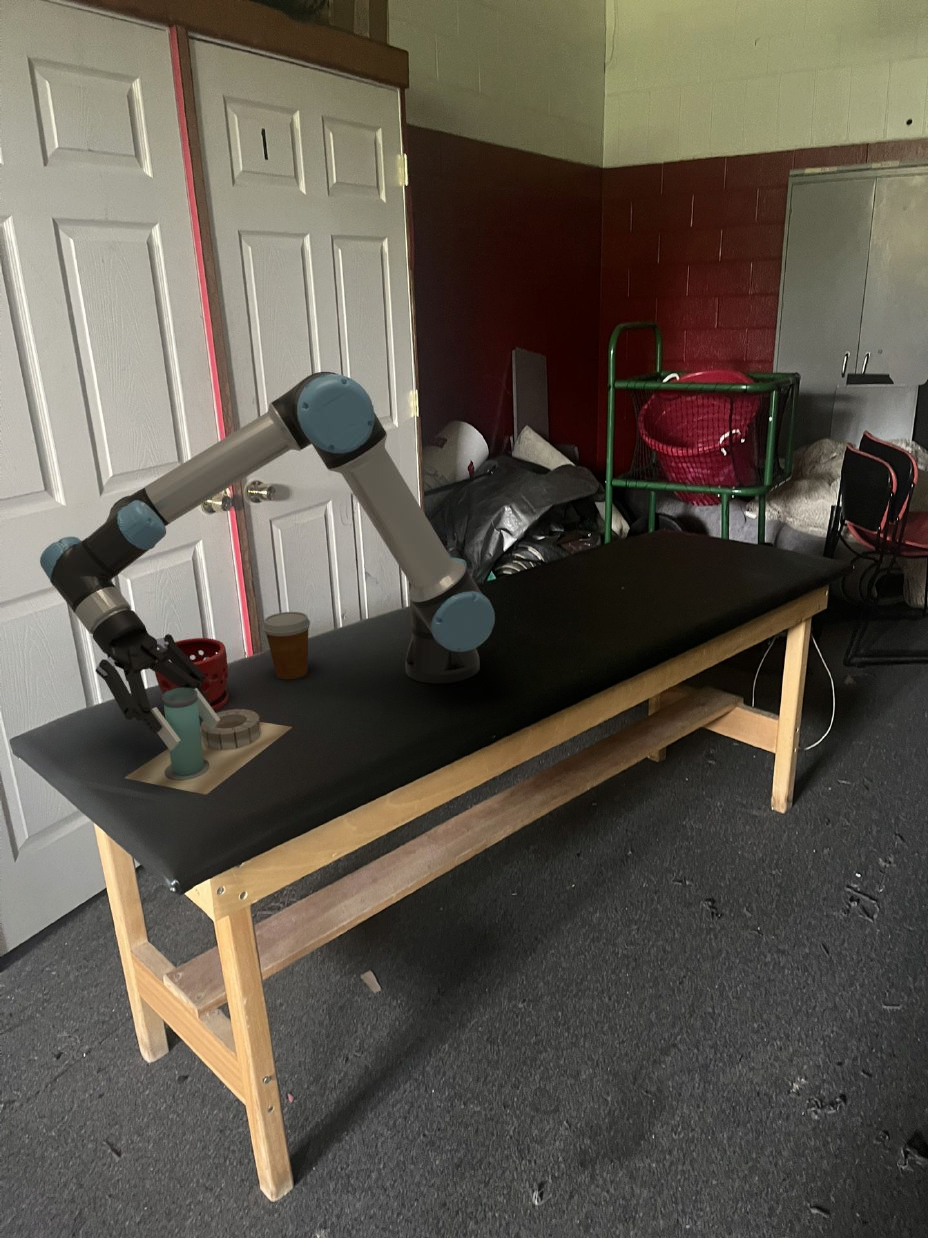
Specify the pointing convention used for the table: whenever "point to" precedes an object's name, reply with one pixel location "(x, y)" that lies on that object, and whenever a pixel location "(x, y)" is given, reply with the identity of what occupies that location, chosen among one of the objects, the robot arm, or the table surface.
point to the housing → (215, 752)
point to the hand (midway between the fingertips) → (195, 734)
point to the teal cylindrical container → (184, 730)
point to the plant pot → (204, 668)
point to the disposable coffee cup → (288, 643)
